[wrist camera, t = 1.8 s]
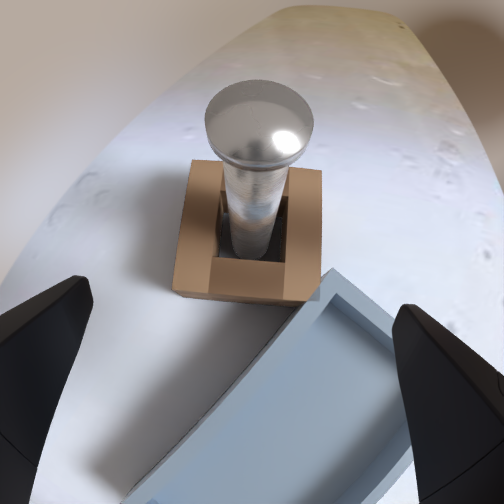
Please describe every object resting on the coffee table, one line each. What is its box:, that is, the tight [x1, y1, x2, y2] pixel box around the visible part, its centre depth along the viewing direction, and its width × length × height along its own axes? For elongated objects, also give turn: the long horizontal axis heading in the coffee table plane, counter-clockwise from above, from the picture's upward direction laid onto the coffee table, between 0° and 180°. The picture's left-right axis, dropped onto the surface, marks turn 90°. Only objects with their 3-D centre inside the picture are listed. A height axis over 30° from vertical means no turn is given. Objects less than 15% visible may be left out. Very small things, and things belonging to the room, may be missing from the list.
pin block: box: [172, 160, 322, 307], centre depth 20 cm, size 8×8×4 cm
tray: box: [120, 268, 414, 504], centre depth 16 cm, size 20×12×4 cm, turn 140°
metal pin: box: [205, 80, 314, 260], centre depth 15 cm, size 3×3×13 cm
